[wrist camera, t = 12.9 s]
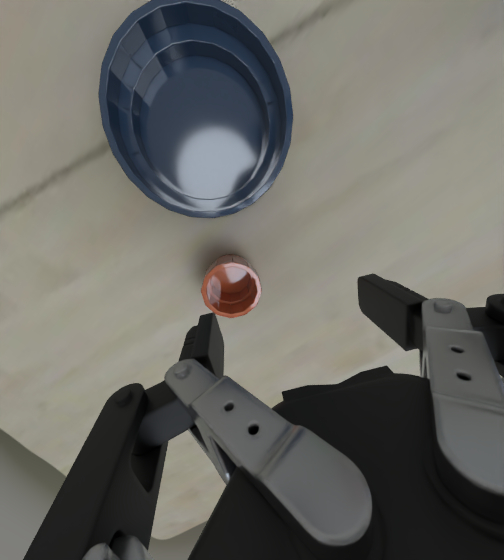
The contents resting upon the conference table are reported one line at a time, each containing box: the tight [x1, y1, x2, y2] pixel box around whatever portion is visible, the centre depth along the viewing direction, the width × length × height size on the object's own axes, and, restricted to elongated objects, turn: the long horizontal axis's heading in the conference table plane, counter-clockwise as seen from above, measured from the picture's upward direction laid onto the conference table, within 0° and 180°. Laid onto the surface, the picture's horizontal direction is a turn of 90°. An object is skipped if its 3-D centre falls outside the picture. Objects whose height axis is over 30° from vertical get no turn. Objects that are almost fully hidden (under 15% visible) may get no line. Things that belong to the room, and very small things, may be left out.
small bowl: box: [201, 254, 262, 318], centre depth 28 cm, size 6×6×6 cm
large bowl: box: [99, 0, 293, 218], centre depth 22 cm, size 16×16×5 cm
